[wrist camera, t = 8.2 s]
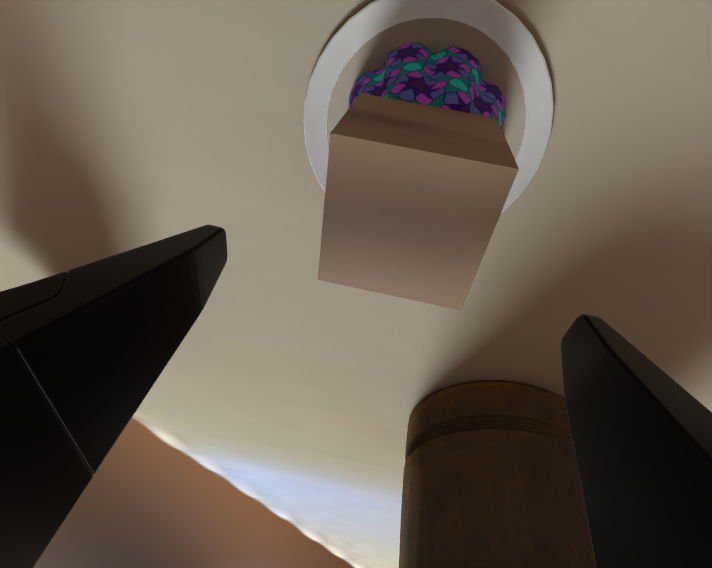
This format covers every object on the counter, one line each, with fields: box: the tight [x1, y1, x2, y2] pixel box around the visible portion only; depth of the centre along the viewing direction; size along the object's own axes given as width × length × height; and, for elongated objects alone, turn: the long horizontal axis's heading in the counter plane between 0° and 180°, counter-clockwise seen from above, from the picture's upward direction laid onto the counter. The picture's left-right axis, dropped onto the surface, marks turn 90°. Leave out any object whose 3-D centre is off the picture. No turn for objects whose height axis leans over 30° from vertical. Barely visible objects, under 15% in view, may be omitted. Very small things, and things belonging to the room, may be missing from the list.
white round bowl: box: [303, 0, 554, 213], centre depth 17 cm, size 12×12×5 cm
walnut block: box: [318, 93, 519, 310], centre depth 13 cm, size 5×5×5 cm
